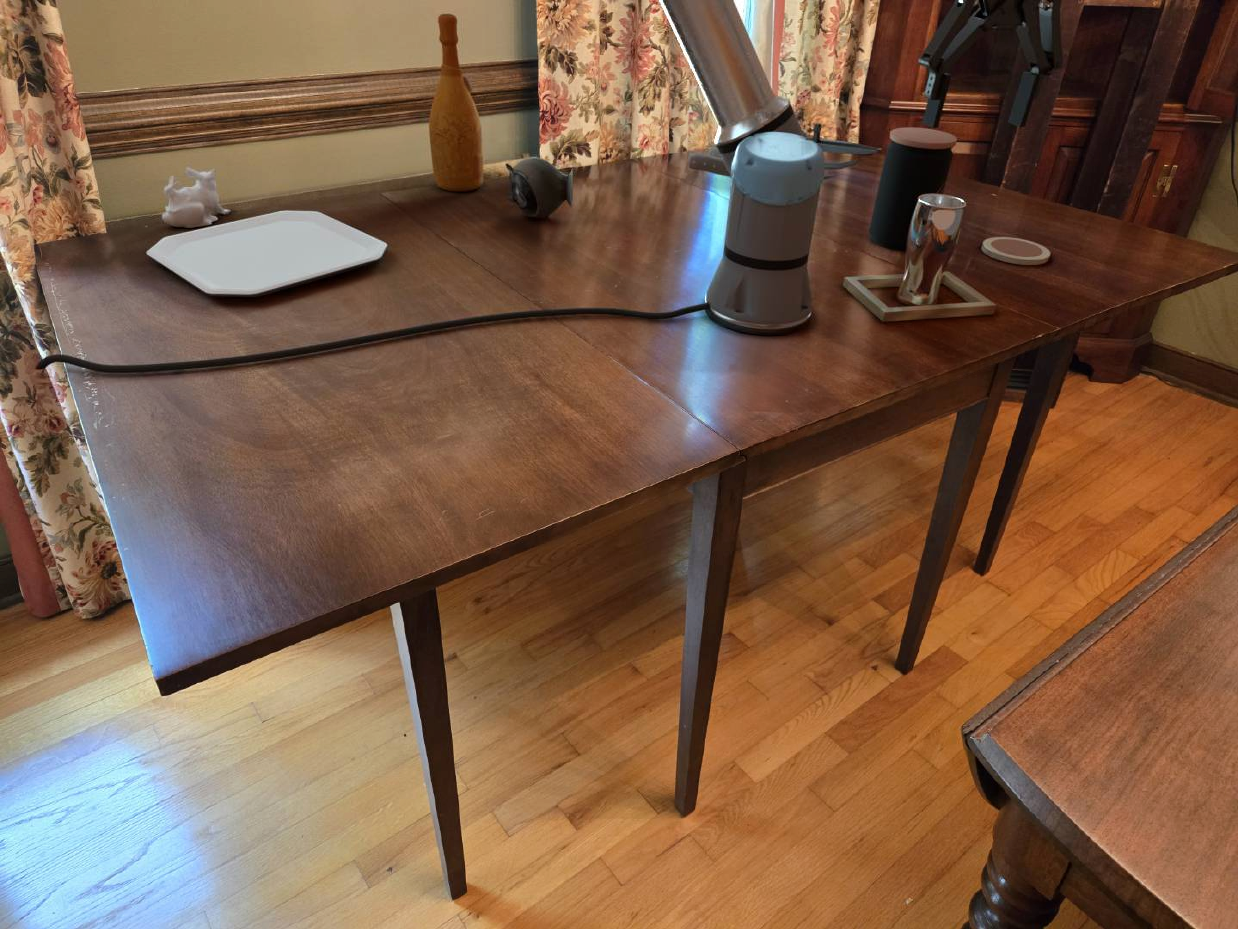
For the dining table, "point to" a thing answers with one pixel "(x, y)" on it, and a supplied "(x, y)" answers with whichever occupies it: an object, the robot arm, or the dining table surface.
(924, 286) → the beer glass
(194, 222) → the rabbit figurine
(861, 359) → the dining table surface
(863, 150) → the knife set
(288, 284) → the plate
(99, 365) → the robot arm
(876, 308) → the picture frame
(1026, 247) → the trivet
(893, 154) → the coffee jar
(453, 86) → the wine bottle
